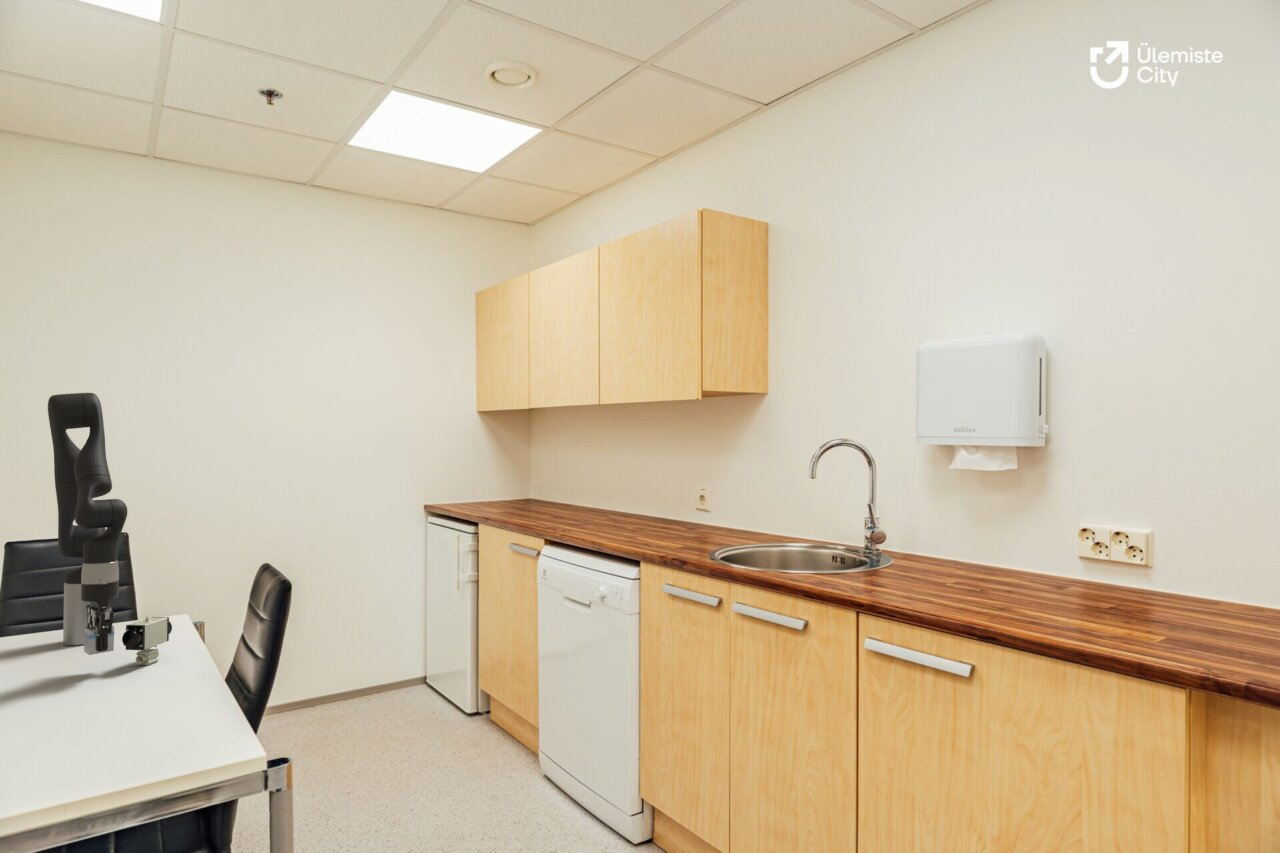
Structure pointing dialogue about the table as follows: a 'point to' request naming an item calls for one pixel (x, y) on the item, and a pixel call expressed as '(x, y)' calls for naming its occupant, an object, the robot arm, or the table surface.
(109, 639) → the grey box with knob
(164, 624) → the pneumatic valve
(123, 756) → the table surface
